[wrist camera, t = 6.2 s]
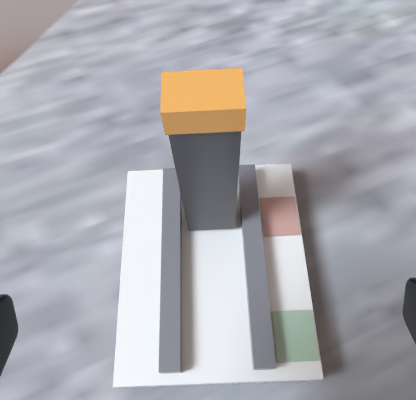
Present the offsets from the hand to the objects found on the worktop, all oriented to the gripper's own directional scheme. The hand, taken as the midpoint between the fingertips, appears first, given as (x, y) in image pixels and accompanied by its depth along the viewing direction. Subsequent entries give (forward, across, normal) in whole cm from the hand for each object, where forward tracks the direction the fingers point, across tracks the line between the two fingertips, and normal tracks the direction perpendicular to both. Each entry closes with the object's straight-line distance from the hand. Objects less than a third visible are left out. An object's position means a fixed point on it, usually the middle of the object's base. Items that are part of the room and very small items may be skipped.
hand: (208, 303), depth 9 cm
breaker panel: (+13, 0, +6) cm, 14 cm away
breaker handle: (+13, 0, +3) cm, 14 cm away
